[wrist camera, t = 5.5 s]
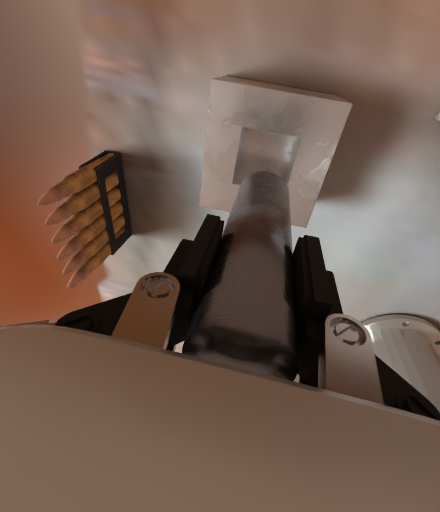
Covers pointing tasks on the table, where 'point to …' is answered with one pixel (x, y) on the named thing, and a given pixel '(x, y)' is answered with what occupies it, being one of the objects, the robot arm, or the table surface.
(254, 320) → the pin
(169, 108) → the table surface
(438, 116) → the tray
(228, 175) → the block
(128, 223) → the ammunition clip
